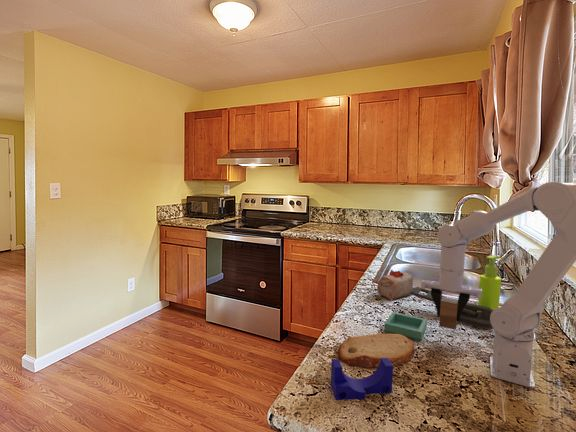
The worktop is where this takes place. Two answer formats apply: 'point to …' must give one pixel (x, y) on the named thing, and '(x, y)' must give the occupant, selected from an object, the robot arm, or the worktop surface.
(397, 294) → the food item
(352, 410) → the worktop surface
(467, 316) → the dark grey stapler
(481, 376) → the worktop surface
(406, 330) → the teal well
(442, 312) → the walnut post
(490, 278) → the soap dispenser
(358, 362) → the bread slice
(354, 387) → the blue cradle
